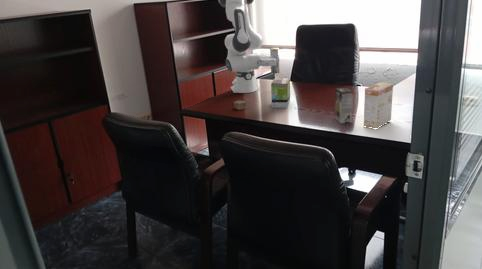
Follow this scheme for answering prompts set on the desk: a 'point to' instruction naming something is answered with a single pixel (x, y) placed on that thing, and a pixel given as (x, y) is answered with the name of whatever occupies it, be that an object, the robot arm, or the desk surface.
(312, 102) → the desk surface
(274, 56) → the tin canister
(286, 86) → the tea box
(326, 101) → the desk surface
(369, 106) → the coffeecake box
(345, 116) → the coffee box
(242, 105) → the walnut coaster block
